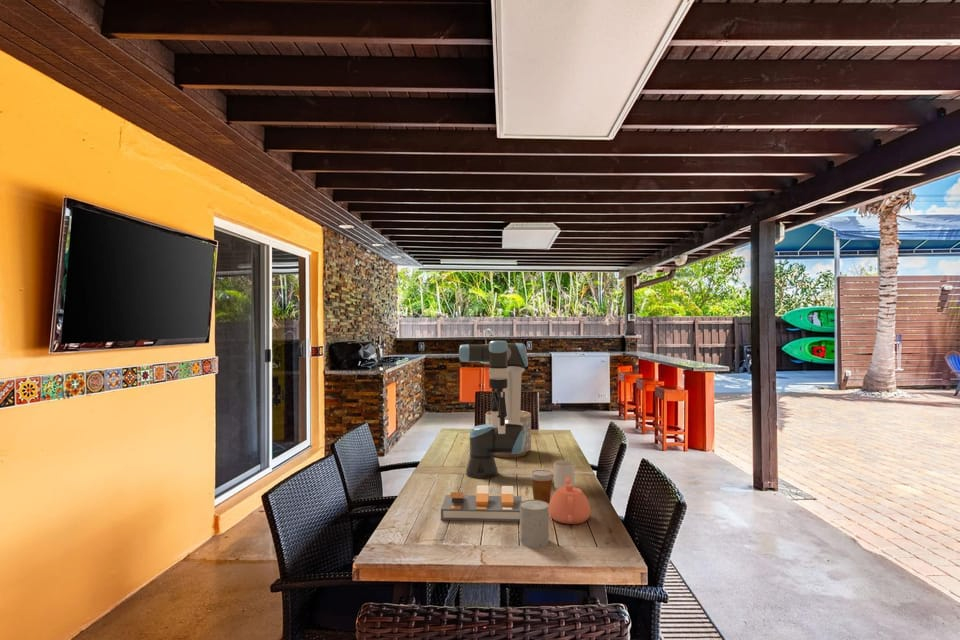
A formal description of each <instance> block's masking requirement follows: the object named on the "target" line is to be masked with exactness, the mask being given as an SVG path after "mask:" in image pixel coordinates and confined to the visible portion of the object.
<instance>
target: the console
mask: <svg viewBox="0 0 960 640" xmlns="http://www.w3.org/2000/svg"><path fill="white" fill-rule="evenodd" d="M501 496H502V495H489V497H488V506H476V495H474V494H473V495H469V494H468V495H467V494H466V495H465V498H450V497H451V494H445V496H444V499H443V502H442V504H441V507H440V521H470V522H471V521H474V522H515V523H517V522H519V523H520V503H521V502H522V501H523V500H522V496H520V495H513V501H514V507H501Z"/></svg>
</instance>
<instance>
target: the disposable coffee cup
mask: <svg viewBox="0 0 960 640" xmlns="http://www.w3.org/2000/svg"><path fill="white" fill-rule="evenodd" d="M529 477H530V479H531V488H532V497H533V500H541V501H544V502H546V503H548V504H549V502H550V500H551V494H552V484H553V480H554V474H553V472H552V471H550V470H548V469H535V470H532V471H531V472H530V474H529Z"/></svg>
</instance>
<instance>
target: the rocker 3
mask: <svg viewBox="0 0 960 640" xmlns="http://www.w3.org/2000/svg"><path fill="white" fill-rule="evenodd" d="M500 496H501V507H514V501H513V496H514V486H513V485H502V486H501V495H500Z"/></svg>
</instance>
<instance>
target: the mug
mask: <svg viewBox="0 0 960 640" xmlns="http://www.w3.org/2000/svg"><path fill="white" fill-rule="evenodd" d="M575 466H576V465H575V463H574V462H573V461H568V460H557V461H555V462H554V463H553V473H554V474H553V476H554V477H553V487H554V488H555V490H557V489H558V488H560V487H565V483H566V477H569V479H570V484H572V485H574V487H575V488H576V486H575V485H576V484H575V483H576V482H575V468H576V467H575Z"/></svg>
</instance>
